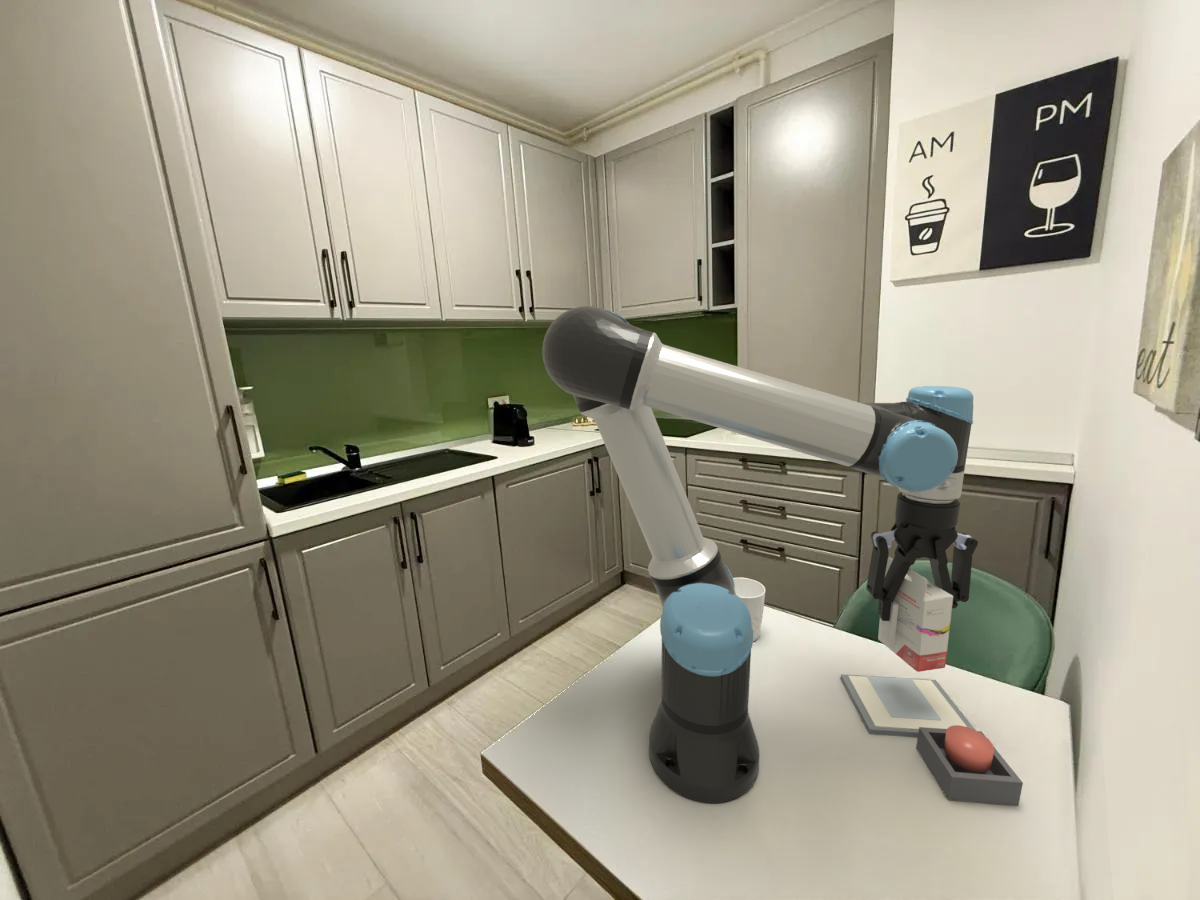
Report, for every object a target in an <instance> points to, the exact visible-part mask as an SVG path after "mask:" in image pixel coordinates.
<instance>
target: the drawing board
mask: <svg viewBox="0 0 1200 900" xmlns="http://www.w3.org/2000/svg"><path fill="white" fill-rule="evenodd" d="M840 680H841V682H842V684H843V686H844V688H845V690H846V692H847V694H848V696H849V698H850V700H851V701H852V704H853V705H854V707H855V709H856V711H857V713H858V715H859V717H860V719H861V720H862V721H861V722H862V723H863V725H864V727H865V729H866V731H867V732H868V734H869V735H879V736H881V735H882V736H895V737H908V738H918V732H919V727H925V728H940V729H947V728H948V727H950V726H954V725H960V726H965V727H969V728H971V729H974V730H976V729H975V727H974V726H973V724H971V722H970V721H969V720H968V718H967V717H966V715H964V713H963V712H962V711H961V710H960V709H959V707H958V706H957V705H956V704H955V702H954V700H953V699H952V698H951V697H950V695H948V694H947V692H946V691H945V689H944V688H943V687H942V686H941V685H940V683H939V682H938V681H937V679H926V678H913V677H912V678H910V677H906V678H905V677H895V676H894V677H892V676H889V677H888V676H876V675H875V676H874V675H861V674H860V675H857V674H856V675H855V674H845V673H844V674H840Z"/></svg>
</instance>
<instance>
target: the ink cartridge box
mask: <svg viewBox="0 0 1200 900" xmlns="http://www.w3.org/2000/svg"><path fill="white" fill-rule="evenodd" d="M893 559H894V558H892V557H890V556H888V561H887V567H886V572H885V576H886V574H887V572H888V569H889V567H890V565H891V563H892V561H893ZM894 600H895V601H896V602H897V603H898V605H899V607H898V616H897V624H896V633H895V642H894V644H893V643H888V641H887V640H886V639H885V637H884V636H883V634H882V633H881V631H882V622H883V621H882V619H881V618H880V617H879V622H878V623H879V625H878V634H877V635H878V636H877V637H878V638H877V639H878V641H880V643H882V644H883V645H884V646H886V647H887V648H888V649H889V650H890V651H892V653H894V654H895V655H896V656H898V657H899V658H900V659H901V660H902V661H904V663H906V664H907V665H908V666H910V667H911V668H912V669H913V670H914V671H916V672H917V673H920V672H925V671H932V670H939V669H945V668H946V664H947V663H946V662H947V656H948V646H949V637H950V628H951V621H952V620H951V619H952V609H953V608H952V604H953V596H952V595H951V594H949V593H947V592H946V591H944V590H942V589H940V588H939V587H937V586H935V583H932V582H930V581H929V580H928V579H927V578H926V577H924V576H922V575H921V574H919V573H917V572H916V571H914V570H913V569H911V568H909V570H908V572H907V574H906V576H905V578H904V580H903V582H902V584H901V586H900V589H899V591H898V593H897V595H896V597H895V599H894Z"/></svg>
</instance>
